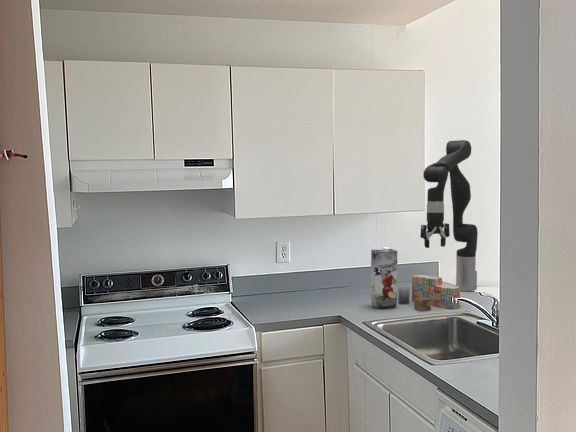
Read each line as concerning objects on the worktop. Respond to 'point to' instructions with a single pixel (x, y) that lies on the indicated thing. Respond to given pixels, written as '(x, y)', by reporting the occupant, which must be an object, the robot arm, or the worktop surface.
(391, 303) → the juice carton
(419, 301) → the walnut cube
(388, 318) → the worktop surface
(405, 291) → the charcoal cylinder
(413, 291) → the stack of blocks
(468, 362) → the worktop surface
